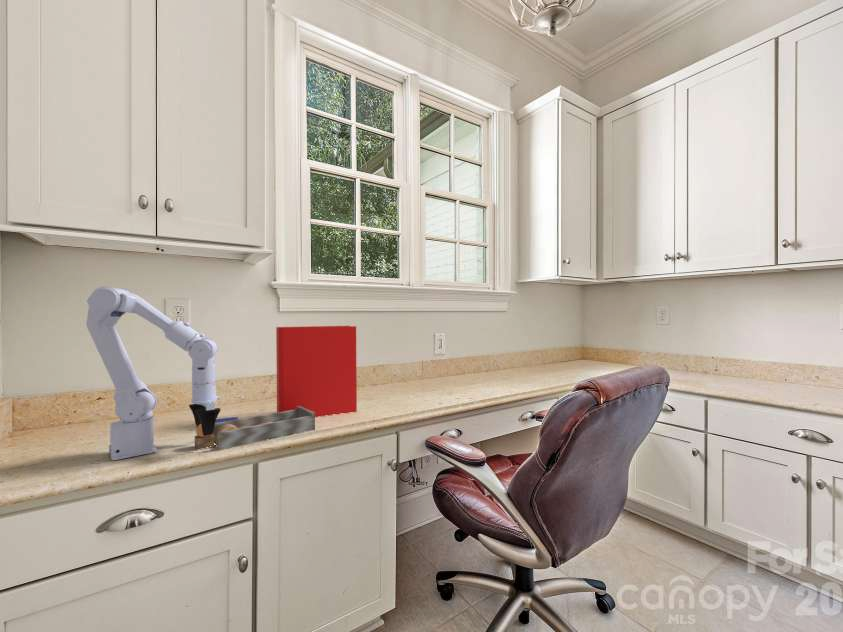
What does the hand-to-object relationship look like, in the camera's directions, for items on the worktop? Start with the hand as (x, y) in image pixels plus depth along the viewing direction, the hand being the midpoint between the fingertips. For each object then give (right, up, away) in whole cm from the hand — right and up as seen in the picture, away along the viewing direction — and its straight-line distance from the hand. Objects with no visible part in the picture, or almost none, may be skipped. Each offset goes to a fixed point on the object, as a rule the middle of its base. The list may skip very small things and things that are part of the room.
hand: (204, 431), depth 108 cm
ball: (0, 0, 0) cm, 0 cm away
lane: (+12, -8, +11) cm, 18 cm away
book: (+22, -4, +35) cm, 41 cm away
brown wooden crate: (0, -4, 0) cm, 4 cm away
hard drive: (-5, -5, +21) cm, 22 cm away
